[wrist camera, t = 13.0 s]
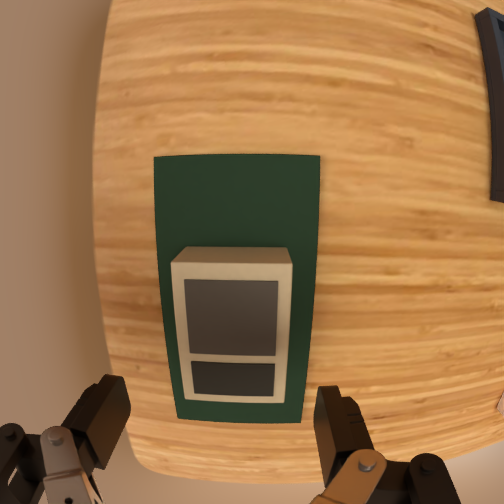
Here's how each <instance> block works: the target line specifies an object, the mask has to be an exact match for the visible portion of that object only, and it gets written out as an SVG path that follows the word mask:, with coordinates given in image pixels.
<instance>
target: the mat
mask: <svg viewBox="0 0 504 504" xmlns="http://www.w3.org/2000/svg"><path fill="white" fill-rule="evenodd" d="M319 194H320V156H314V155H288V154H207V155H181V156H162V157H154V200H155V225H156V244H157V259H158V272H159V284H160V295H161V305H162V314H163V323H164V332H165V340H166V347H167V355H168V362H169V369H170V375H171V382H172V388H173V394H174V400H175V406H176V411H177V417H178V418H179V419H188V420H199V421H213V422H230V423H301V417H302V409H303V402H304V394H305V386H306V377H307V368H308V359H309V350H310V340H311V329H312V318H313V306H314V293H315V278H316V263H317V245H318V223H319ZM187 246H192V247H286V248H287V250H288V253H289V256H290V258H291V261H292V264H293V269H292V291H291V311H290V328H289V345H288V360H287V374H286V387H285V399H284V403H243V402H219V401H203V400H190V399H185V395H184V388H183V381H182V373H181V366H180V358H179V349H178V340H177V331H176V321H175V311H174V300H173V287H172V274H171V262H172V261H173V260H174V259H175V258H176V257H177V255H178V254H179V253H180V252H181V251H182V250H183V249H184V248H185V247H187Z"/></svg>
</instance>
